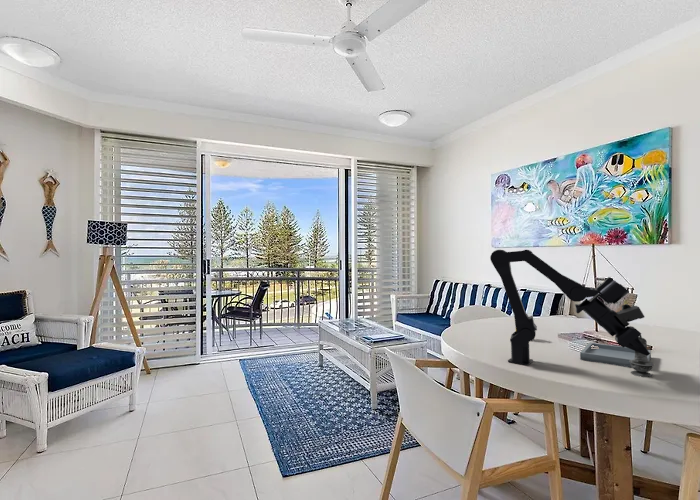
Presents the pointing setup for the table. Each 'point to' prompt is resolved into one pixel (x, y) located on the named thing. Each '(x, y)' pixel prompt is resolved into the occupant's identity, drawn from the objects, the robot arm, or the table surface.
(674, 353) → the table surface
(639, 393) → the table surface
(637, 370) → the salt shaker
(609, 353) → the tray
